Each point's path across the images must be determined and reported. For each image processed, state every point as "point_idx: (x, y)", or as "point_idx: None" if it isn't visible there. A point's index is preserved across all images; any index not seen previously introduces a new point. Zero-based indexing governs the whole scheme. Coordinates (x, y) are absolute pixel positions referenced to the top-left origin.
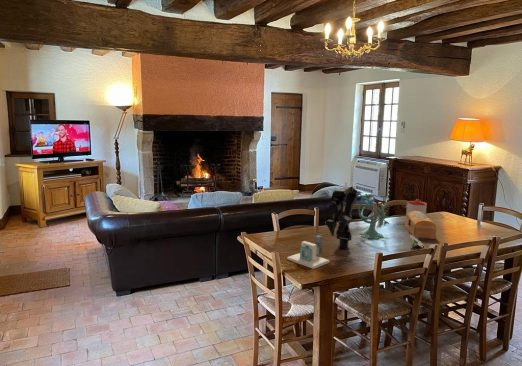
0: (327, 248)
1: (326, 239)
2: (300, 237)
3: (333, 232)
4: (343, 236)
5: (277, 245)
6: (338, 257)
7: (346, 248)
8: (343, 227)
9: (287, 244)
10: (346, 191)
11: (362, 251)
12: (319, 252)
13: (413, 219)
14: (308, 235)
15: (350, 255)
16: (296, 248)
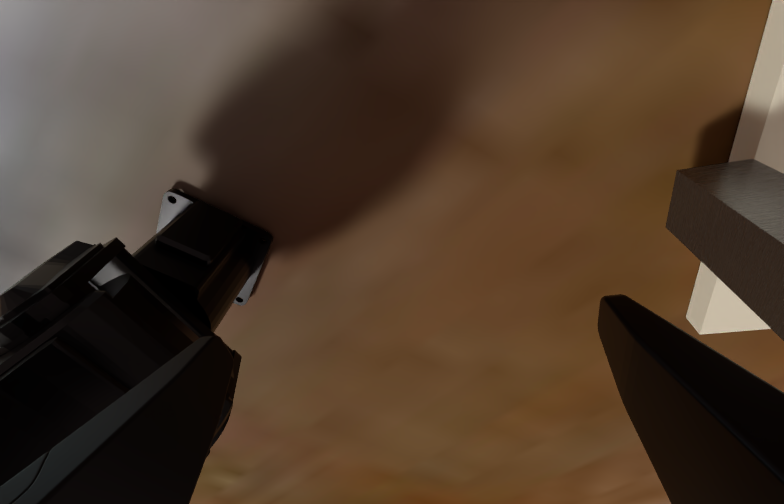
0: (368, 309)
1: (243, 423)
2: (387, 498)
3: (753, 376)
4: (166, 318)
5: (644, 487)
6: (475, 40)
7: (203, 204)
8: (66, 487)
9: (571, 472)
10: None
11: (33, 58)
12: (759, 177)
13: None
14: (316, 497)
15: (269, 15)
16: (597, 412)
